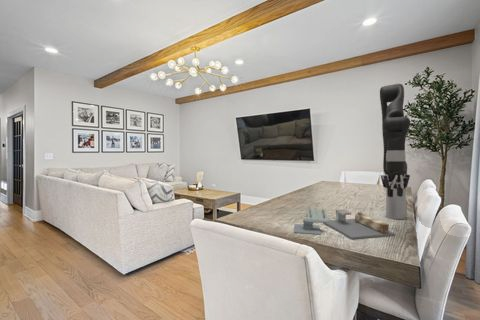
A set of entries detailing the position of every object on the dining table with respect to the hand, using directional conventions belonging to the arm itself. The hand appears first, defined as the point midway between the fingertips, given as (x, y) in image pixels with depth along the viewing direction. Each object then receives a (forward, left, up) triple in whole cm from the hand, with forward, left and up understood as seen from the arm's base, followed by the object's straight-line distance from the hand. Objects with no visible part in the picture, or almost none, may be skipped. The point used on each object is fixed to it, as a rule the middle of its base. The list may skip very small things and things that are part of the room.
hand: (395, 196), depth 107 cm
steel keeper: (+16, -16, -16) cm, 28 cm away
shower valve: (+37, -13, -18) cm, 43 cm away
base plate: (+14, -9, -17) cm, 24 cm away
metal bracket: (+23, -30, -18) cm, 42 cm away
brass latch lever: (+7, -8, -16) cm, 19 cm away
